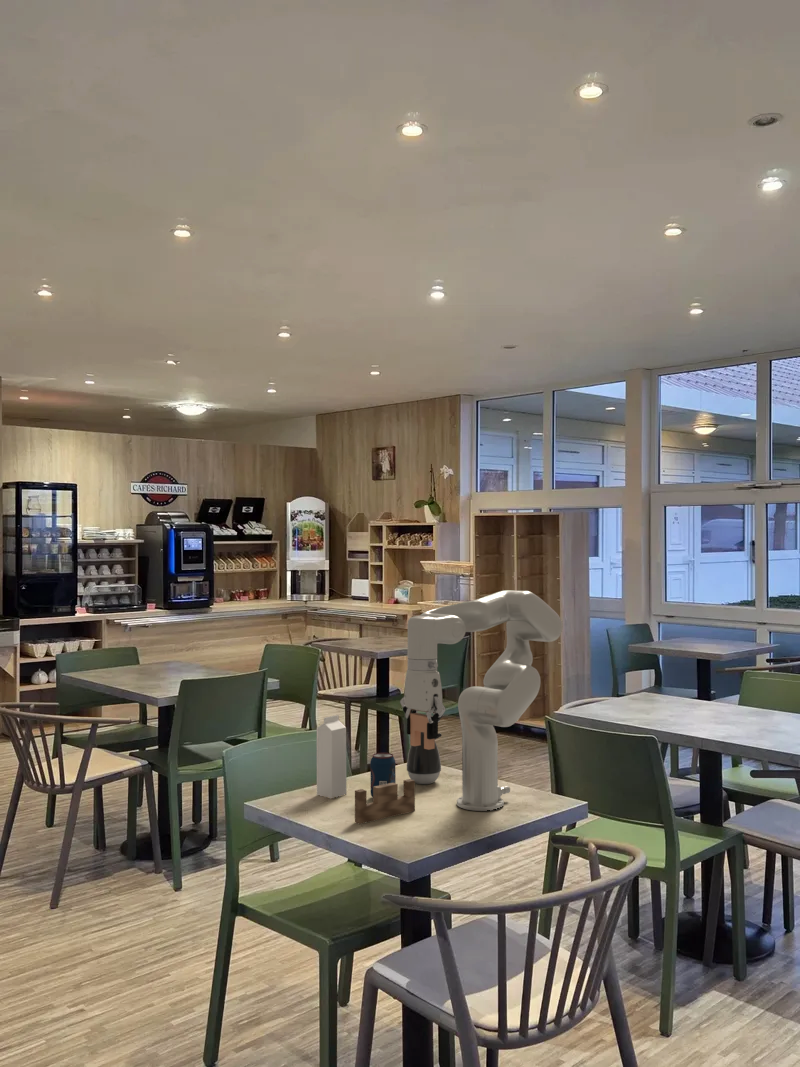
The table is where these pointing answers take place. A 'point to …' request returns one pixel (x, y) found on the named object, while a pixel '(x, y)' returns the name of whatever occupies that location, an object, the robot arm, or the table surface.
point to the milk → (331, 758)
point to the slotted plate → (416, 727)
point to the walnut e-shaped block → (384, 802)
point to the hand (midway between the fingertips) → (422, 735)
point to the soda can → (382, 769)
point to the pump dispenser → (423, 763)
